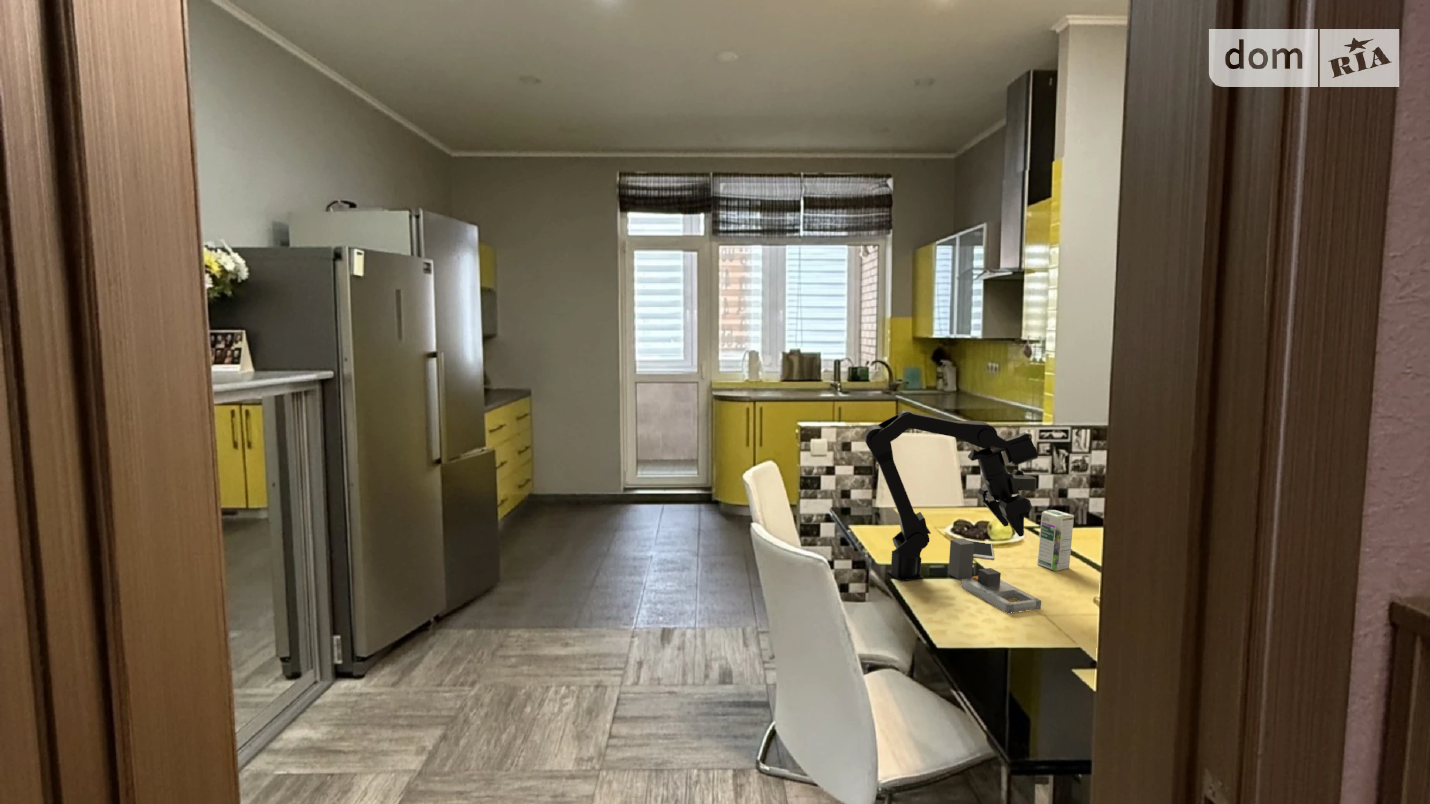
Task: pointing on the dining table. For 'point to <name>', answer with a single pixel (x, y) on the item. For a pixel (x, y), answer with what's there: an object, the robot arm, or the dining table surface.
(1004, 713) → the dining table surface
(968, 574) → the plug
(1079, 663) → the dining table surface
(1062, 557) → the syrup box
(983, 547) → the smartphone
